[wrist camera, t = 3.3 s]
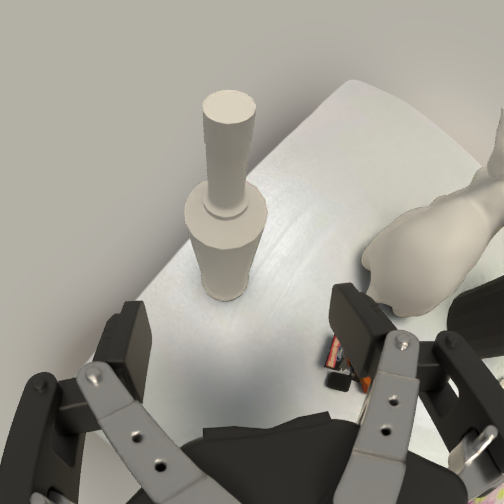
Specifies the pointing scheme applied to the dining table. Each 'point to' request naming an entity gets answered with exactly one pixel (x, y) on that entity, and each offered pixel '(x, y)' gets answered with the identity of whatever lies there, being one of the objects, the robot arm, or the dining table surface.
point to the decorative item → (491, 497)
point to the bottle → (226, 198)
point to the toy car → (338, 361)
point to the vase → (480, 318)
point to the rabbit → (437, 241)
